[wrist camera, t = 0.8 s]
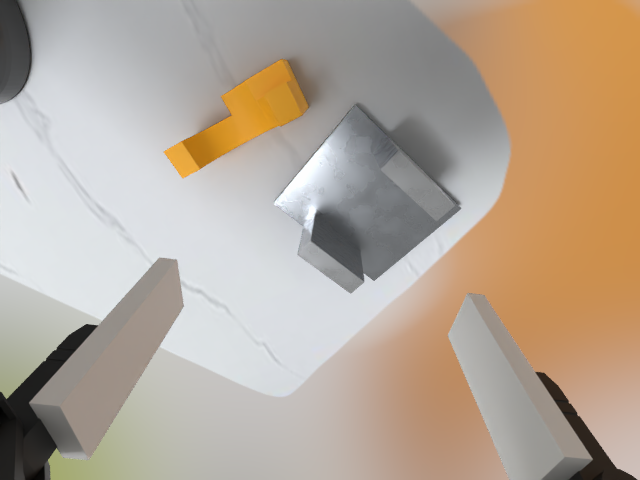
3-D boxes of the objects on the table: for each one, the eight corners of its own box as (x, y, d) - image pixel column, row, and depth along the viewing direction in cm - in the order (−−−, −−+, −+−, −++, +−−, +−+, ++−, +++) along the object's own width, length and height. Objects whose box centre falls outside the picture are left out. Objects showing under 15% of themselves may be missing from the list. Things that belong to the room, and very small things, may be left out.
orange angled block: (287, 60, 28) (274, 57, 22) (309, 106, 29) (302, 115, 24) (184, 121, 31) (149, 132, 25) (209, 159, 32) (182, 178, 27)
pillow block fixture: (275, 200, 34) (261, 228, 28) (355, 104, 29) (359, 113, 23) (373, 276, 38) (379, 314, 32) (458, 204, 33) (485, 234, 27)
